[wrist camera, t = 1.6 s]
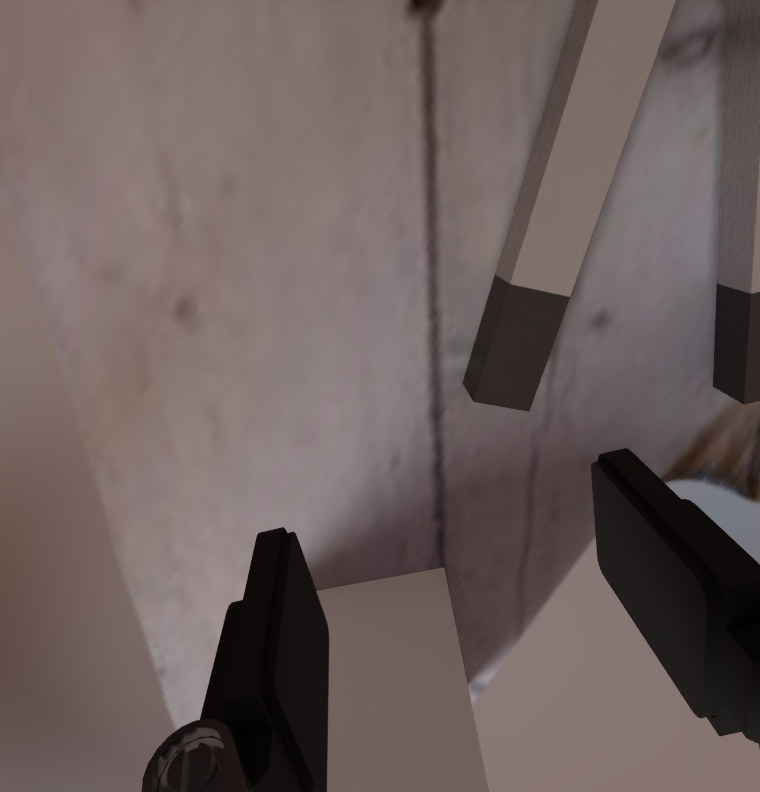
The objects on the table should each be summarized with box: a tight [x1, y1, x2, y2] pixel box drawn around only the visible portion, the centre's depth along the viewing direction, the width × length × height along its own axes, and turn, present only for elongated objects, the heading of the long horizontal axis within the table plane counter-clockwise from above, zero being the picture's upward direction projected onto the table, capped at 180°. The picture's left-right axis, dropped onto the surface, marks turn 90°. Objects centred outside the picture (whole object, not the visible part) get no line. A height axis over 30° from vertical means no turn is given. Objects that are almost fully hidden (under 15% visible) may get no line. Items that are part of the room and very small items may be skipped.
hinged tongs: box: [713, 0, 760, 404], centre depth 23 cm, size 30×7×3 cm, turn 12°
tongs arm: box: [463, 0, 676, 411], centre depth 23 cm, size 26×5×2 cm, turn 167°
